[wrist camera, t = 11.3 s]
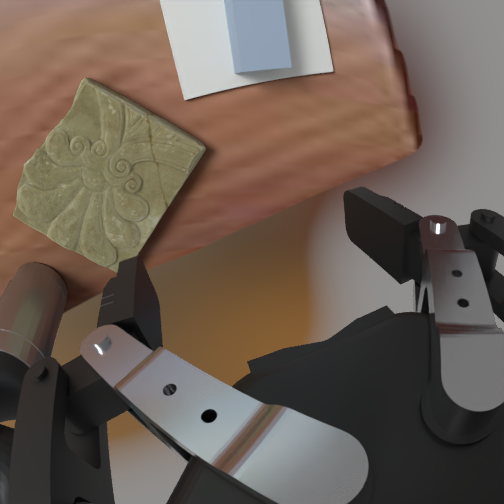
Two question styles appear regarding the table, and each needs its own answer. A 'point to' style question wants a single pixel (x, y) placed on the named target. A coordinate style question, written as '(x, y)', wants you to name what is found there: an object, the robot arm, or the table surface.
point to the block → (257, 35)
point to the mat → (219, 49)
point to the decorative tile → (105, 176)
